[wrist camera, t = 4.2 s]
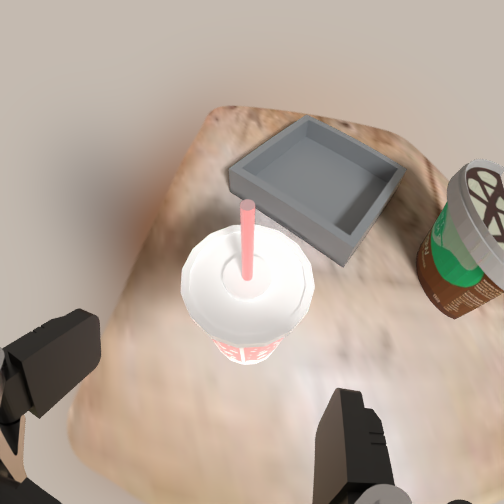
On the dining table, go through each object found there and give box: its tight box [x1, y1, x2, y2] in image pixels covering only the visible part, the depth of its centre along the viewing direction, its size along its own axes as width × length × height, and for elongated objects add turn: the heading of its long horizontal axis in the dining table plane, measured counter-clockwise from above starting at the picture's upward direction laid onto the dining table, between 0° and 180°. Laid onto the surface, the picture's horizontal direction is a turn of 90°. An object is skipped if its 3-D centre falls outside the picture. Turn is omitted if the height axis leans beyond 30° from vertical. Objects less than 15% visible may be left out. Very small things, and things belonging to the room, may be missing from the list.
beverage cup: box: [181, 199, 315, 364], centre depth 15 cm, size 6×6×14 cm
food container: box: [416, 159, 504, 319], centre depth 20 cm, size 12×6×10 cm, turn 157°
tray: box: [229, 115, 407, 267], centre depth 27 cm, size 13×13×3 cm
